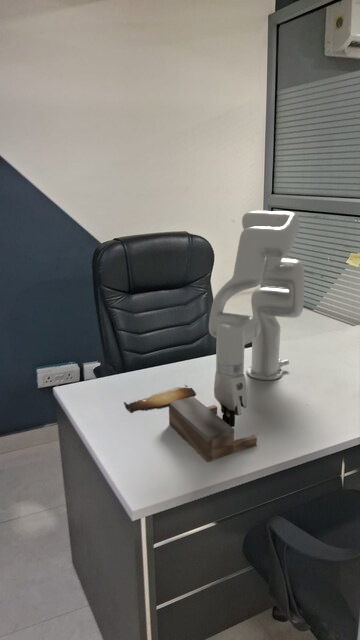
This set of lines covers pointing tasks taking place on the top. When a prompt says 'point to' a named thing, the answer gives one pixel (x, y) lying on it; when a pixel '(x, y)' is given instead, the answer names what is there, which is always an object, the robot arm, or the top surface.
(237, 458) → the top surface
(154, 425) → the top surface
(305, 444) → the top surface
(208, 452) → the wooden step block
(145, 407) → the parchment
